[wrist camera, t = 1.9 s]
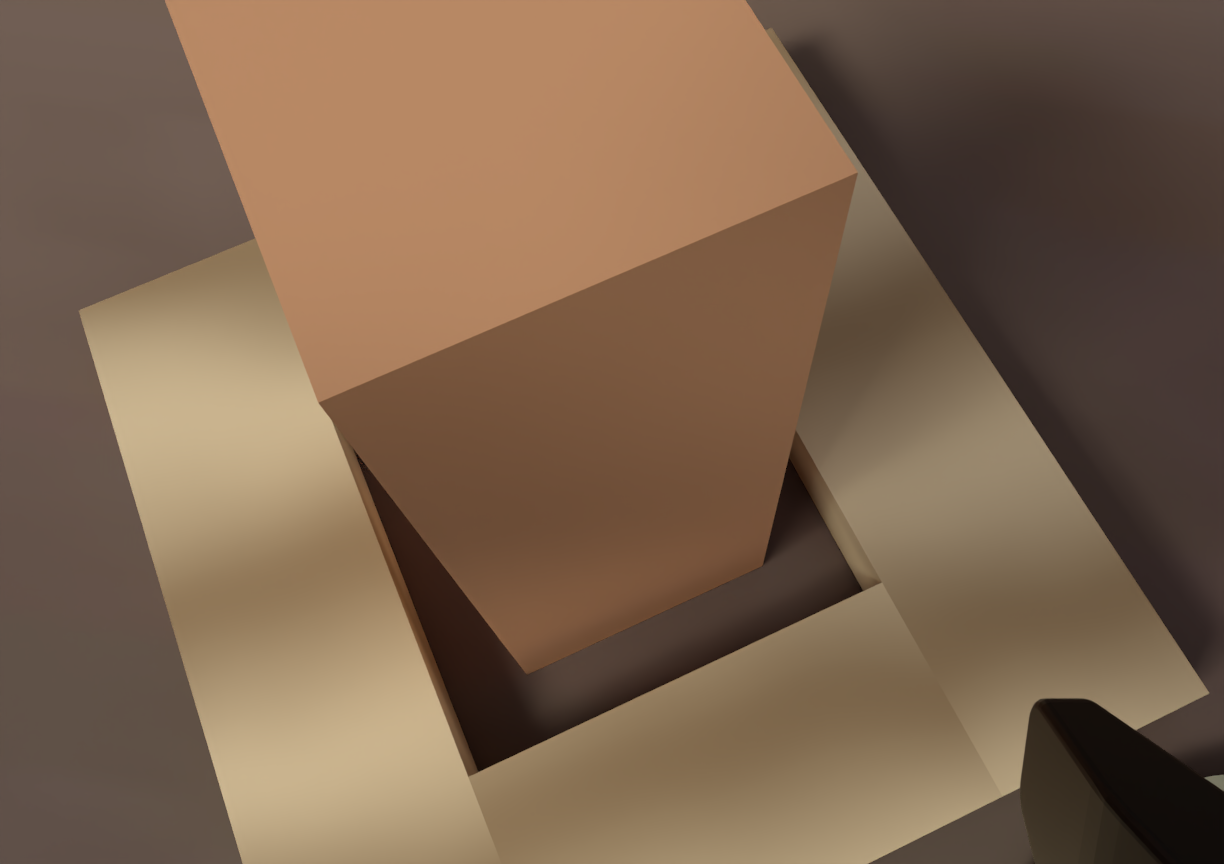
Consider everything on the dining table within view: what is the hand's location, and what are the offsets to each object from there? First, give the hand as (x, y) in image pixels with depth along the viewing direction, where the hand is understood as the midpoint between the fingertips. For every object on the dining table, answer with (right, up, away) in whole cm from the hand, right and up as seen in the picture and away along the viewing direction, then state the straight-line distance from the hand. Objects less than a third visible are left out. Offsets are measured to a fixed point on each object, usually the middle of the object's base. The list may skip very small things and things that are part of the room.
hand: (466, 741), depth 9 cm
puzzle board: (+1, +1, +13) cm, 13 cm away
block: (+1, +1, +13) cm, 13 cm away
